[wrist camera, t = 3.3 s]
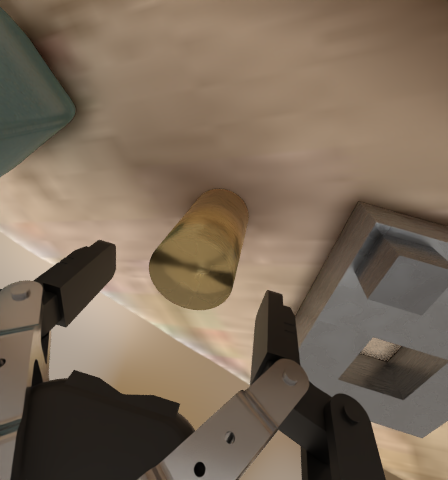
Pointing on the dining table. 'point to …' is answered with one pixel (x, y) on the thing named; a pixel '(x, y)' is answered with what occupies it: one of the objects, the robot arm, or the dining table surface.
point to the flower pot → (26, 97)
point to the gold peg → (202, 252)
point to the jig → (382, 319)
